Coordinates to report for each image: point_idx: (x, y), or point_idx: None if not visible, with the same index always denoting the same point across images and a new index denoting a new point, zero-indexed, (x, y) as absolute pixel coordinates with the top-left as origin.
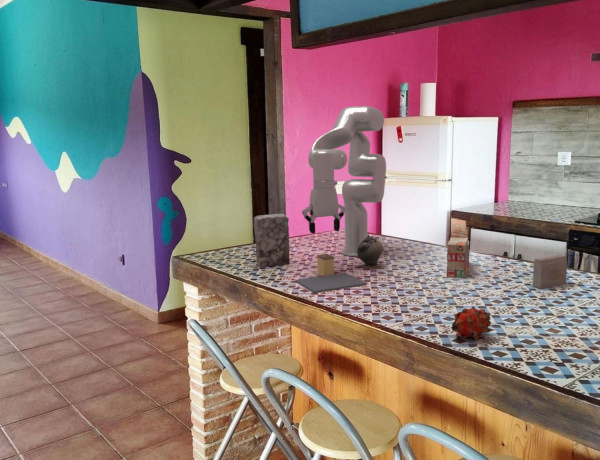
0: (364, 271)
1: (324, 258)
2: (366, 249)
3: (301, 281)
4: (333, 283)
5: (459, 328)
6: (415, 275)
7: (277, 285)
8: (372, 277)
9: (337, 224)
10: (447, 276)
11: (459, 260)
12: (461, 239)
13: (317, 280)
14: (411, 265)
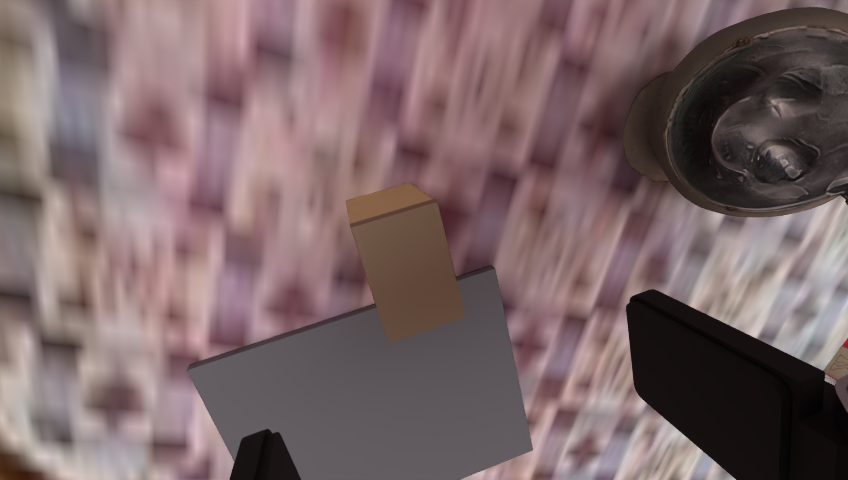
0: (597, 227)
1: (390, 340)
2: (727, 199)
3: (225, 403)
4: (391, 447)
5: None
6: (750, 335)
7: (74, 425)
8: (590, 340)
9: (716, 459)
10: (827, 374)
11: None
12: None
13: (319, 393)
14: None
